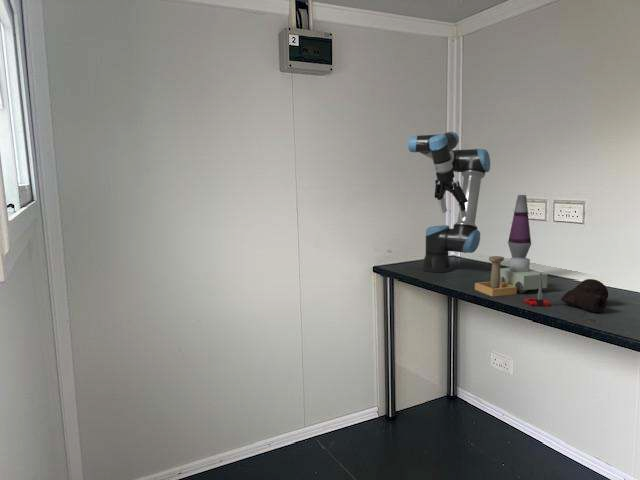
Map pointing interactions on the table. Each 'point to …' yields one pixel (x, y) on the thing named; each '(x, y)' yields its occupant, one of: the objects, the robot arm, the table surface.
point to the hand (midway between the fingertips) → (453, 214)
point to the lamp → (520, 229)
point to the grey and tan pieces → (515, 279)
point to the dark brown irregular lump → (588, 296)
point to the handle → (495, 271)
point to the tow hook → (538, 300)
